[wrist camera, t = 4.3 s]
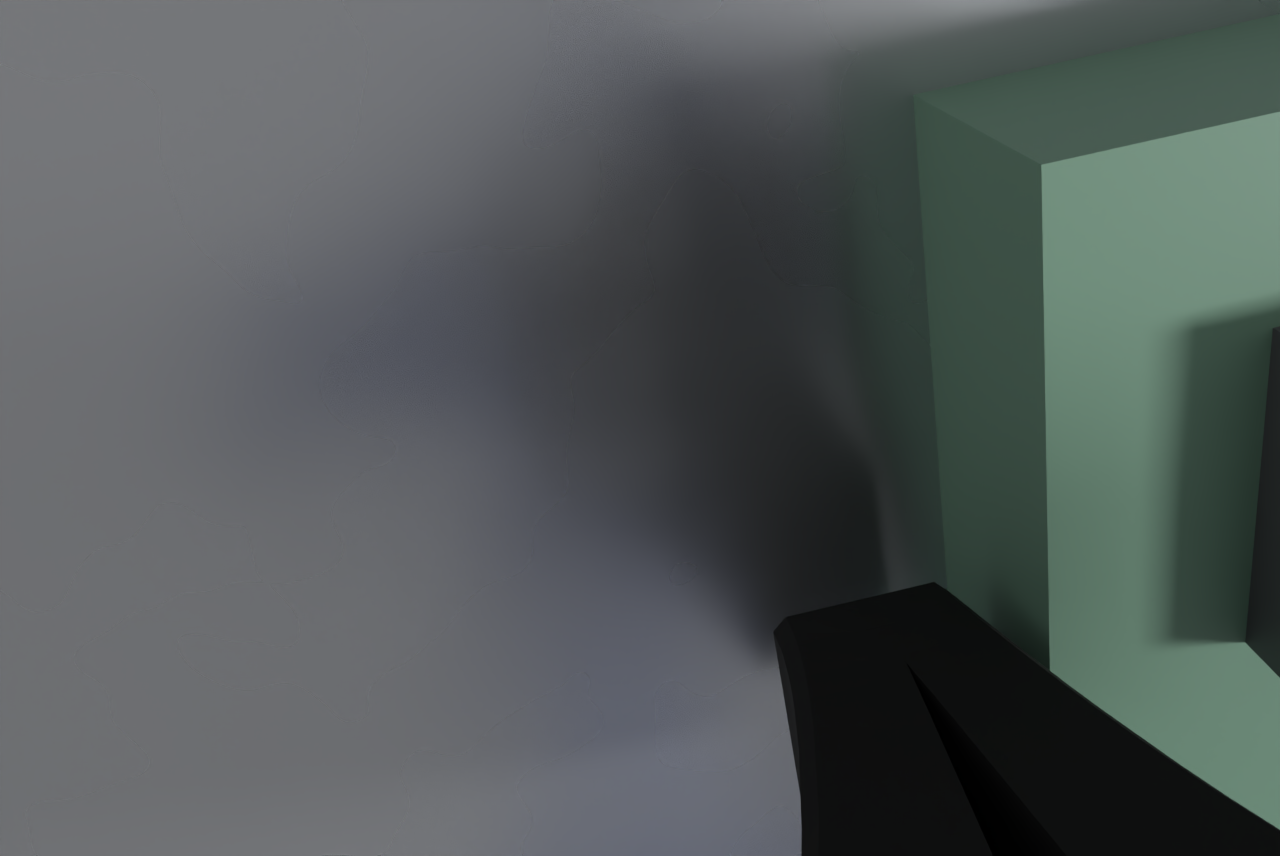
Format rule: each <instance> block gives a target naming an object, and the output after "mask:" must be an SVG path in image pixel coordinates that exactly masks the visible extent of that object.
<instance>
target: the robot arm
mask: <svg viewBox="0 0 1280 856" xmlns="http://www.w3.org/2000/svg"><path fill="white" fill-rule="evenodd" d="M773 635H774V641H775V647H776V653H777V659H778V665H779V671H780V677H781V683H782V689H783V695H784V701H785V707H786V713H787V719H788V725H789V731H790V737H791V743H792V749H793V755H794V761H795V767H796V773H797V779H798V785H799V791H800V798H801V827H802V842H801V856H1280V829H1278V828H1276V827H1275V826H1273V825H1272V824H1270V823H1269V822H1267V821H1265V820H1264V819H1262V818H1261V817H1259V816H1258V815H1256V814H1254V813H1253V812H1251V811H1250V810H1248V809H1247V808H1245V807H1243V806H1242V805H1240V804H1239V803H1237V802H1236V801H1234V800H1232V799H1231V798H1229V797H1228V796H1226V795H1225V794H1223V793H1222V792H1220V791H1219V790H1217V789H1216V788H1214V787H1213V786H1211V785H1210V784H1208V783H1207V782H1205V781H1204V780H1202V779H1201V778H1199V777H1198V776H1196V775H1195V774H1193V773H1192V772H1190V771H1189V770H1187V769H1186V768H1184V767H1183V766H1182V765H1180V764H1179V763H1177V762H1176V761H1174V760H1173V759H1171V758H1170V757H1169V756H1167V755H1166V754H1164V753H1163V752H1162V751H1160V750H1159V749H1157V748H1156V747H1154V746H1153V745H1152V744H1150V743H1149V742H1147V741H1146V740H1145V739H1143V738H1142V737H1140V736H1139V735H1137V734H1136V733H1135V732H1133V731H1132V730H1130V729H1129V728H1128V727H1126V726H1125V725H1123V724H1122V723H1120V722H1119V721H1118V720H1116V719H1115V718H1113V717H1112V716H1111V715H1109V714H1108V713H1106V712H1105V711H1103V710H1102V709H1101V708H1099V707H1098V706H1097V705H1095V704H1094V703H1092V702H1091V701H1090V700H1088V699H1087V698H1086V697H1084V696H1083V695H1082V694H1080V693H1079V692H1078V691H1076V690H1075V689H1074V688H1072V687H1071V686H1069V685H1068V684H1067V683H1065V682H1064V681H1063V680H1062V679H1060V678H1059V677H1058V676H1056V675H1055V674H1054V673H1052V672H1051V671H1050V670H1048V669H1047V668H1046V667H1045V666H1043V665H1042V664H1041V663H1039V662H1038V661H1037V660H1035V659H1034V658H1033V657H1031V656H1030V655H1029V654H1027V653H1026V652H1025V651H1024V650H1022V649H1021V648H1020V647H1018V646H1017V645H1016V644H1015V643H1013V642H1012V641H1011V640H1010V639H1008V638H1007V637H1006V636H1004V635H1003V634H1002V633H1001V632H999V631H998V630H997V629H996V628H994V627H993V626H992V625H991V624H989V623H988V622H987V621H985V620H984V619H983V618H982V617H980V616H979V615H978V614H977V613H975V612H974V611H973V610H972V609H970V608H969V607H968V606H967V605H965V604H964V603H963V602H962V601H960V600H959V599H958V598H957V597H955V596H954V595H953V594H952V593H950V592H949V591H948V590H946V589H945V588H943V587H941V586H940V585H938V584H937V583H935V582H931V583H927V584H923V585H919V586H914V587H910V588H906V589H902V590H897V591H893V592H889V593H885V594H881V595H876V596H872V597H868V598H864V599H859V600H855V601H851V602H847V603H842V604H838V605H834V606H830V607H826V608H821V609H817V610H813V611H809V612H804V613H800V614H796V615H792V616H787V617H785V618H784V619H783V621H782V622H781V623H780V624H779V625H778V627H777V628H776V629H775V630H774V631H773Z"/></svg>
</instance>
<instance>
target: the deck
mask: <svg viewBox="0 0 1280 856" xmlns="http://www.w3.org/2000/svg"><path fill="white" fill-rule="evenodd" d="M1277 14H1280V0H0V856H801V842H802V827H801V798H800V791H799V785H798V779H797V773H796V767H795V761H794V755H793V749H792V743H791V737H790V731H789V725H788V719H787V713H786V707H785V701H784V695H783V689H782V683H781V677H780V671H779V665H778V659H777V653H776V647H775V641H774V635H773V631H774V630H775V629H776V628H777V627H778V625H779V624H780V623H781V622H782V621H783V619H784V618H785V617H787V616H792V615H796V614H800V613H804V612H809V611H813V610H817V609H821V608H826V607H830V606H834V605H838V604H842V603H847V602H851V601H855V600H859V599H864V598H868V597H872V596H876V595H881V594H885V593H889V592H893V591H897V590H902V589H906V588H910V587H914V586H919V585H923V584H927V583H931V582H935V583H937V584H938V585H940V586H941V587H943V588H945V589H946V590H947V578H946V564H945V549H944V535H943V521H942V506H941V492H940V477H939V463H938V448H937V434H936V419H935V405H934V390H933V376H932V362H931V347H930V333H929V318H928V304H927V289H926V275H925V260H924V246H923V231H922V217H921V203H920V188H919V174H918V159H917V145H916V130H915V116H914V101H913V95H915V94H919V93H924V92H928V91H933V90H937V89H942V88H946V87H951V86H955V85H960V84H965V83H969V82H974V81H978V80H983V79H987V78H992V77H996V76H1001V75H1005V74H1010V73H1014V72H1019V71H1023V70H1028V69H1033V68H1037V67H1042V66H1046V65H1051V64H1055V63H1060V62H1064V61H1069V60H1073V59H1078V58H1082V57H1087V56H1091V55H1096V54H1101V53H1105V52H1110V51H1114V50H1119V49H1123V48H1128V47H1132V46H1137V45H1141V44H1146V43H1150V42H1155V41H1159V40H1164V39H1169V38H1173V37H1178V36H1182V35H1187V34H1191V33H1196V32H1200V31H1205V30H1209V29H1214V28H1218V27H1223V26H1227V25H1232V24H1237V23H1241V22H1246V21H1250V20H1255V19H1259V18H1264V17H1268V16H1273V15H1277Z"/></svg>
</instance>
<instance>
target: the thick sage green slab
mask: <svg viewBox="0 0 1280 856" xmlns="http://www.w3.org/2000/svg"><path fill="white" fill-rule="evenodd" d="M913 101H914V116H915V130H916V145H917V159H918V174H919V188H920V203H921V217H922V231H923V246H924V260H925V275H926V289H927V304H928V318H929V333H930V347H931V362H932V376H933V390H934V405H935V419H936V434H937V448H938V463H939V477H940V492H941V506H942V521H943V535H944V549H945V564H946V578H947V590H948V591H949V592H950V593H952V594H953V595H954V596H955V597H957V598H958V599H959V600H960V601H962V602H963V603H964V604H965V605H967V606H968V607H969V608H970V609H972V610H973V611H974V612H975V613H977V614H978V615H979V616H980V617H982V618H983V619H984V620H985V621H987V622H988V623H989V624H991V625H992V626H993V627H994V628H996V629H997V630H998V631H999V632H1001V633H1002V634H1003V635H1004V636H1006V637H1007V638H1008V639H1010V640H1011V641H1012V642H1013V643H1015V644H1016V645H1017V646H1018V647H1020V648H1021V649H1022V650H1024V651H1025V652H1026V653H1027V654H1029V655H1030V656H1031V657H1033V658H1034V659H1035V660H1037V661H1038V662H1039V663H1041V664H1042V665H1043V666H1045V667H1046V668H1047V669H1048V670H1050V671H1051V672H1052V673H1054V674H1055V675H1056V676H1058V677H1059V678H1060V679H1062V680H1063V681H1064V682H1065V683H1067V684H1068V685H1069V686H1071V687H1072V688H1074V689H1075V690H1076V691H1078V692H1079V693H1080V694H1082V695H1083V696H1084V697H1086V698H1087V699H1088V700H1090V701H1091V702H1092V703H1094V704H1095V705H1097V706H1098V707H1099V708H1101V709H1102V710H1103V711H1105V712H1106V713H1108V714H1109V715H1111V716H1112V717H1113V718H1115V719H1116V720H1118V721H1119V722H1120V723H1122V724H1123V725H1125V726H1126V727H1128V728H1129V729H1130V730H1132V731H1133V732H1135V733H1136V734H1137V735H1139V736H1140V737H1142V738H1143V739H1145V740H1146V741H1147V742H1149V743H1150V744H1152V745H1153V746H1154V747H1156V748H1157V749H1159V750H1160V751H1162V752H1163V753H1164V754H1166V755H1167V756H1169V757H1170V758H1171V759H1173V760H1174V761H1176V762H1177V763H1179V764H1180V765H1182V766H1183V767H1184V768H1186V769H1187V770H1189V771H1190V772H1192V773H1193V774H1195V775H1196V776H1198V777H1199V778H1201V779H1202V780H1204V781H1205V782H1207V783H1208V784H1210V785H1211V786H1213V787H1214V788H1216V789H1217V790H1219V791H1220V792H1222V793H1223V794H1225V795H1226V796H1228V797H1229V798H1231V799H1232V800H1234V801H1236V802H1237V803H1239V804H1240V805H1242V806H1243V807H1245V808H1247V809H1248V810H1250V811H1251V812H1253V813H1254V814H1256V815H1258V816H1259V817H1261V818H1262V819H1264V820H1265V821H1267V822H1269V823H1270V824H1272V825H1273V826H1275V827H1276V828H1278V829H1280V14H1277V15H1273V16H1268V17H1264V18H1259V19H1255V20H1250V21H1246V22H1241V23H1237V24H1232V25H1227V26H1223V27H1218V28H1214V29H1209V30H1205V31H1200V32H1196V33H1191V34H1187V35H1182V36H1178V37H1173V38H1169V39H1164V40H1159V41H1155V42H1150V43H1146V44H1141V45H1137V46H1132V47H1128V48H1123V49H1119V50H1114V51H1110V52H1105V53H1101V54H1096V55H1091V56H1087V57H1082V58H1078V59H1073V60H1069V61H1064V62H1060V63H1055V64H1051V65H1046V66H1042V67H1037V68H1033V69H1028V70H1023V71H1019V72H1014V73H1010V74H1005V75H1001V76H996V77H992V78H987V79H983V80H978V81H974V82H969V83H965V84H960V85H955V86H951V87H946V88H942V89H937V90H933V91H928V92H924V93H919V94H915V95H913Z"/></svg>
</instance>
